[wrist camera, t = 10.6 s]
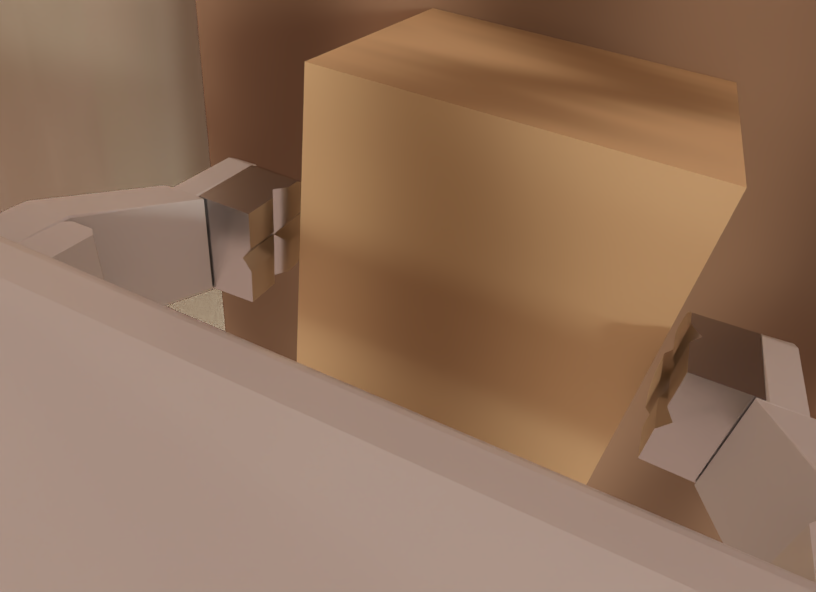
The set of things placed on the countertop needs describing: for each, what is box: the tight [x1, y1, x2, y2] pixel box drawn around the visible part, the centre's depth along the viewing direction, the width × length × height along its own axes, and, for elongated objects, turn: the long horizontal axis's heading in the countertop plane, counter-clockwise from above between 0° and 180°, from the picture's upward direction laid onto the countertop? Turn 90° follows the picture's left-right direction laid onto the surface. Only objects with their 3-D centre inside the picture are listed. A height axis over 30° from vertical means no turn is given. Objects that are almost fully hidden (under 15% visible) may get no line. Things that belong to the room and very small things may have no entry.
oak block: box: [297, 8, 747, 485], centre depth 11 cm, size 6×6×5 cm
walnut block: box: [195, 0, 816, 543], centre depth 15 cm, size 18×18×4 cm
